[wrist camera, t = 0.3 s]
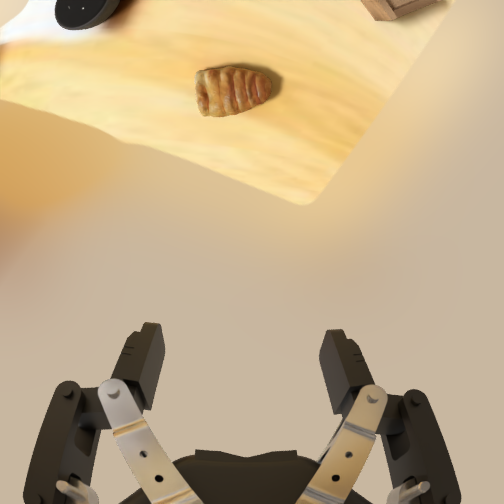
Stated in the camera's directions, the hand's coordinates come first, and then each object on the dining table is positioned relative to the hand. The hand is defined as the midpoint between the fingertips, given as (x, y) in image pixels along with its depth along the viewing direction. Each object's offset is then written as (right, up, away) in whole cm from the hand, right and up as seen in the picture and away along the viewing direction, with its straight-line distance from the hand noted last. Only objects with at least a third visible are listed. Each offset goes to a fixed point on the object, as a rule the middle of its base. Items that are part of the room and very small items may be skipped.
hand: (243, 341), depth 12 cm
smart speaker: (-20, +37, +5) cm, 42 cm away
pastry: (-3, +25, +17) cm, 31 cm away
